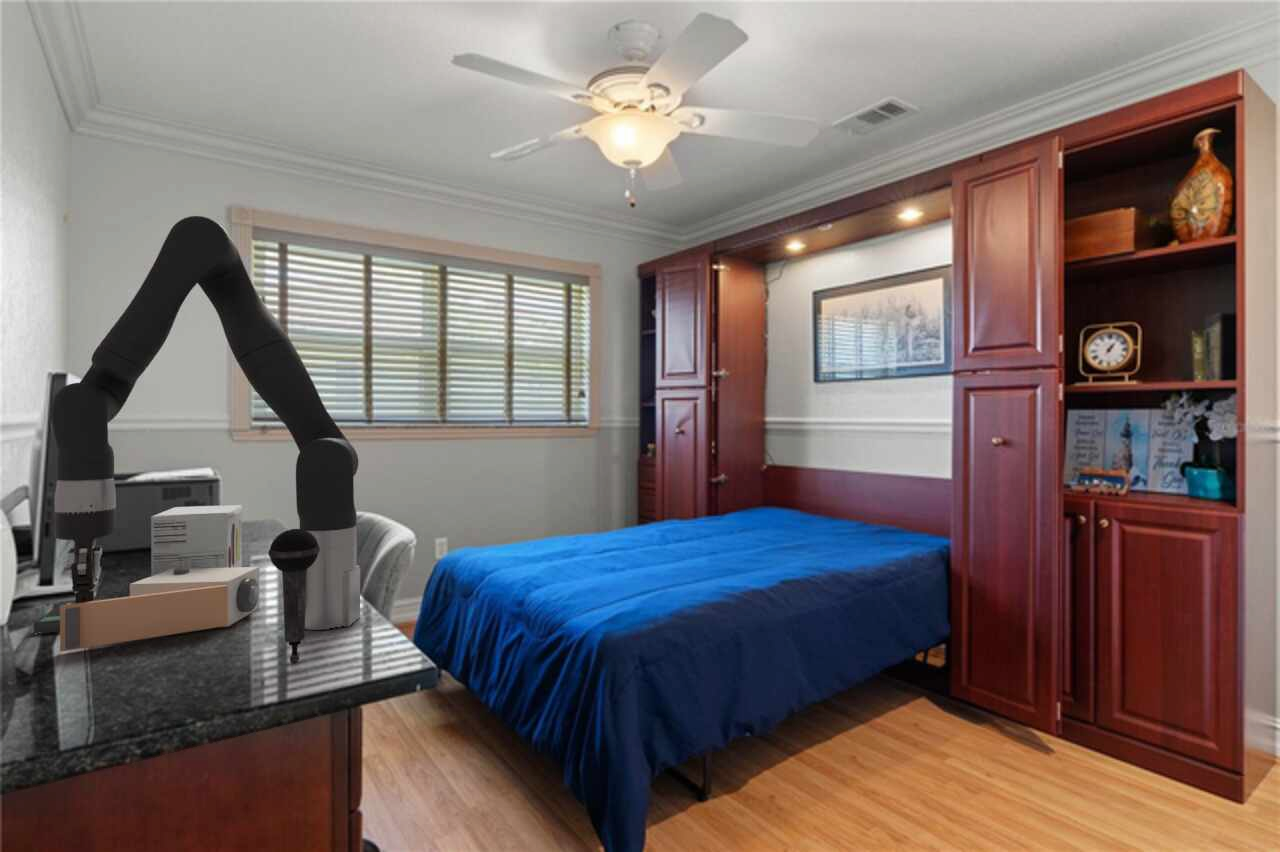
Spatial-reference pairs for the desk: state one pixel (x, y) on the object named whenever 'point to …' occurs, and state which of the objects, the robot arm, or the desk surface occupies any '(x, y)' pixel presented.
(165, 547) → the supplement box
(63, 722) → the desk surface
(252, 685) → the desk surface
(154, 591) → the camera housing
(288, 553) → the microphone
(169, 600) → the door
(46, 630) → the disk drive
